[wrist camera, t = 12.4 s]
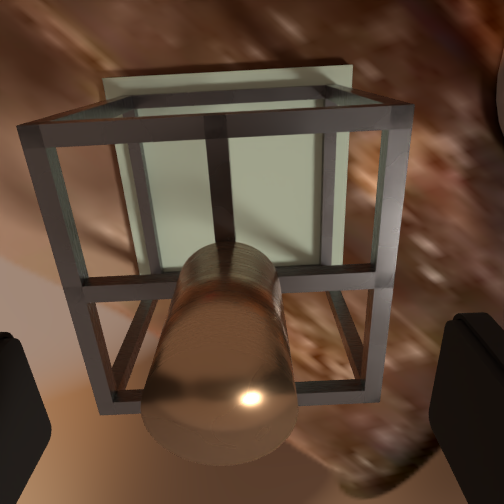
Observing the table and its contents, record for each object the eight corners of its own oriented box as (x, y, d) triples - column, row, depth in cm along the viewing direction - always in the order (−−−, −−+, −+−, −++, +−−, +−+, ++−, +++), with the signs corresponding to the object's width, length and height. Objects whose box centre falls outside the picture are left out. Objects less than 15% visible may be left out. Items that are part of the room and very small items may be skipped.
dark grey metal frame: (336, 84, 20) (542, 138, 6) (329, 272, 24) (437, 550, 10) (122, 95, 20) (-156, 175, 6) (155, 281, 24) (36, 567, 10)
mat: (349, 64, 20) (352, 64, 19) (339, 278, 25) (341, 283, 24) (106, 77, 20) (102, 78, 19) (145, 288, 25) (143, 293, 24)
